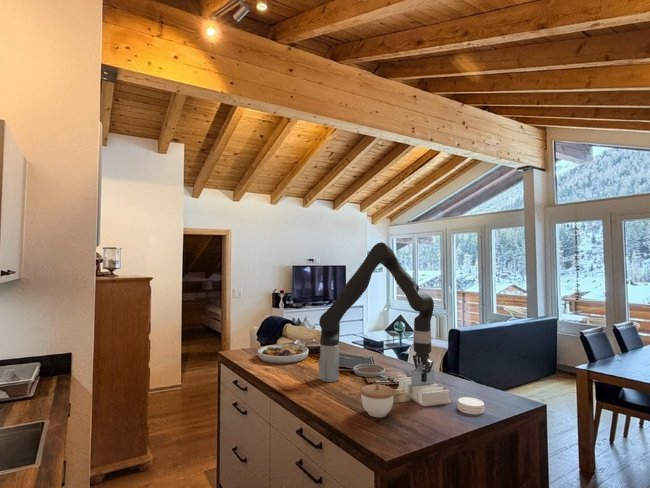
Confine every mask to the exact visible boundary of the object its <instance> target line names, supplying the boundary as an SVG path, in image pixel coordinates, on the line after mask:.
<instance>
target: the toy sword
mask: <svg viewBox="0 0 650 488" xmlns="http://www.w3.org/2000/svg"><path fill="white" fill-rule="evenodd" d="M362 366H364V367H362ZM357 367H358V368H357ZM352 370H353V373H354V374H355V375H356V376H359V377H363V378H364V377H365V378H378V377H381V378H380V381H388V380H389V381H391V382H393V383H397V379H396V378H394V375H392V376H390V377H387V376H385V373H386V368H385V367H384V366H382V365H380V364H373V363H361V364H357V365H355V366H353V368H352ZM393 378H394V379H393Z"/></svg>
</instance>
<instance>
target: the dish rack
mask: <svg viewBox="0 0 650 488" xmlns="http://www.w3.org/2000/svg"><path fill="white" fill-rule="evenodd" d="M397 389H403V392H408V397H410V398H411V400H413V401H414V402H416V403H417V404H419V405H420V406H421V407H429V406H431V407H432V406H438V405H444V404H451V402H452V401H451V400H450V390H448V389H444V386H439V384H437V383H434V384H431V385H422V386H413V387H412V393H411V376H409V377H408V376H407V377H399V378H398V386H397Z"/></svg>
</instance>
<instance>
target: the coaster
mask: <svg viewBox="0 0 650 488" xmlns="http://www.w3.org/2000/svg"><path fill="white" fill-rule="evenodd" d="M456 402H457V404H456V405H457V410H458V411H460V412H462V413H463V414H467V415H473V416H474V415H482V414H484V413H485V403H484V401H483V400H481V399H478V398H475V397H469V396H464V397H460V398H458V399H457V401H456Z"/></svg>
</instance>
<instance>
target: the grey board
mask: <svg viewBox="0 0 650 488" xmlns="http://www.w3.org/2000/svg"><path fill="white" fill-rule="evenodd" d="M424 369H425V368H424ZM410 372H411V375H410V377H411V393H412V387H413V386H422V385H431V384H435V369H434V368H433V367H432V368H431V371H430V373H427V382H422V372H421V369H416V368H415V369H411V370H410Z"/></svg>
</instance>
